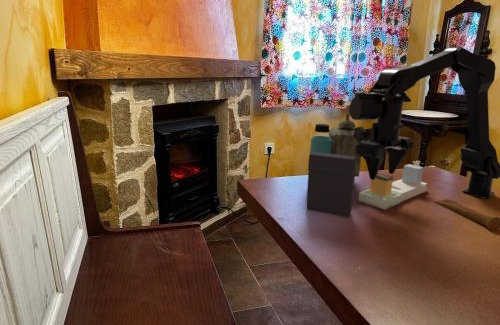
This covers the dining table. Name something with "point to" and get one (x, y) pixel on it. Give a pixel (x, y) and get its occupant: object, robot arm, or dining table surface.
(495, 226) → the primitive tool
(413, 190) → the white flat block
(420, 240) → the dining table surface
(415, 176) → the block
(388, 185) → the block
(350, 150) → the grey brown pump bottle
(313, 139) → the beverage bottle
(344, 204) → the upright charcoal panel
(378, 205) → the parts tray
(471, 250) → the dining table surface
